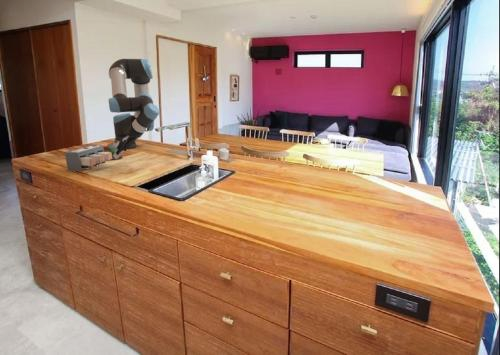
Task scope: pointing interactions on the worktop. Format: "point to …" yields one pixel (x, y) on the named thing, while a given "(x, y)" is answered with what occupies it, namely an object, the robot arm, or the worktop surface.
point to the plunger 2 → (106, 155)
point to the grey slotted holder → (76, 154)
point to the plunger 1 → (87, 161)
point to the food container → (114, 149)
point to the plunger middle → (97, 158)
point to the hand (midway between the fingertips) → (115, 157)
